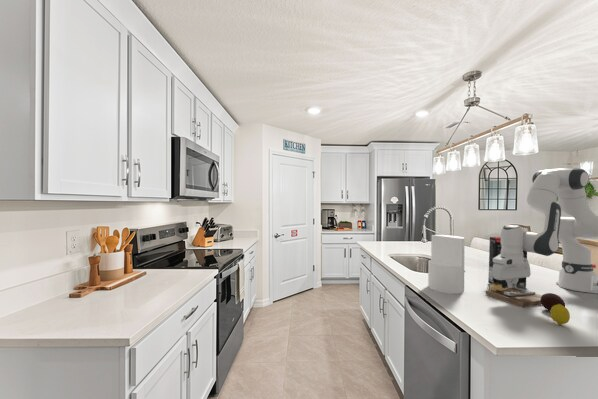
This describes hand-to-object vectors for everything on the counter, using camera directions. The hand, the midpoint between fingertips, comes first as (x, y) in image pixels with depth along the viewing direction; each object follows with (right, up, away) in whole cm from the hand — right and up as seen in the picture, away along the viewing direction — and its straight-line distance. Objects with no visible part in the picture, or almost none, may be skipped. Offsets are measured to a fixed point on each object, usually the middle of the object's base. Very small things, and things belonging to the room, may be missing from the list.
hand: (511, 287), depth 138 cm
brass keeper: (-3, -4, +5) cm, 7 cm away
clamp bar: (+5, -3, +1) cm, 6 cm away
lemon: (-3, -6, -28) cm, 29 cm away
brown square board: (+4, -6, +1) cm, 7 cm away
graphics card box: (+15, -6, +23) cm, 28 cm away
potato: (+7, -6, -15) cm, 17 cm away
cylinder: (-23, -6, +17) cm, 29 cm away
